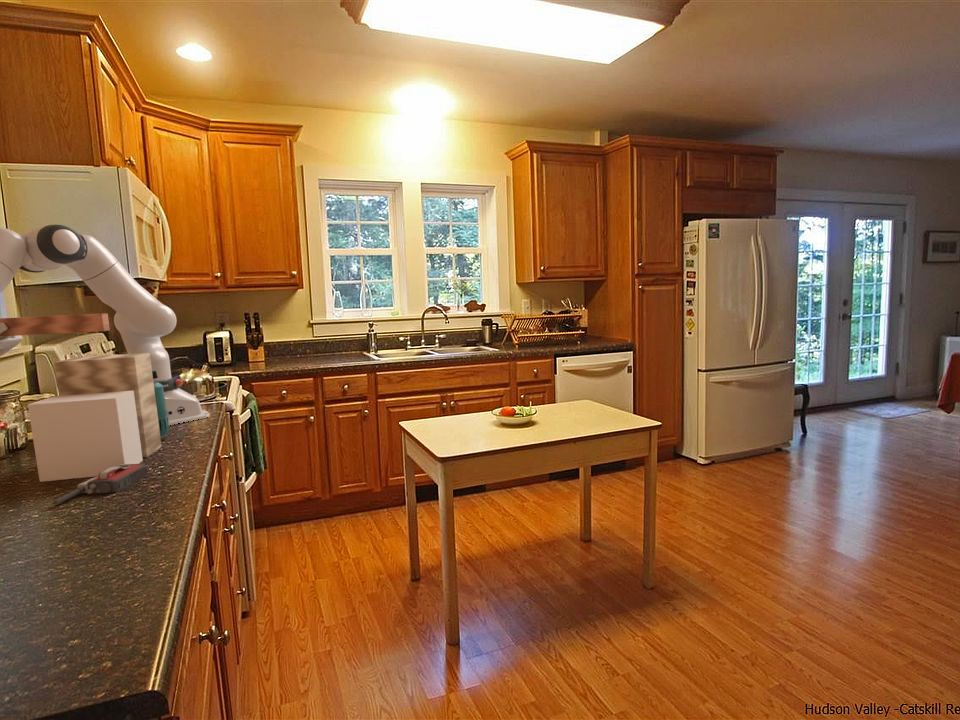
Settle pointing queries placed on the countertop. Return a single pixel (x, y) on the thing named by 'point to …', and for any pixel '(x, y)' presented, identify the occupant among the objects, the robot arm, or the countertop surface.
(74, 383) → the stand
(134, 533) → the countertop surface
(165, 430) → the beverage bottle
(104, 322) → the stick
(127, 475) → the walkie-talkie
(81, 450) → the plain white box
